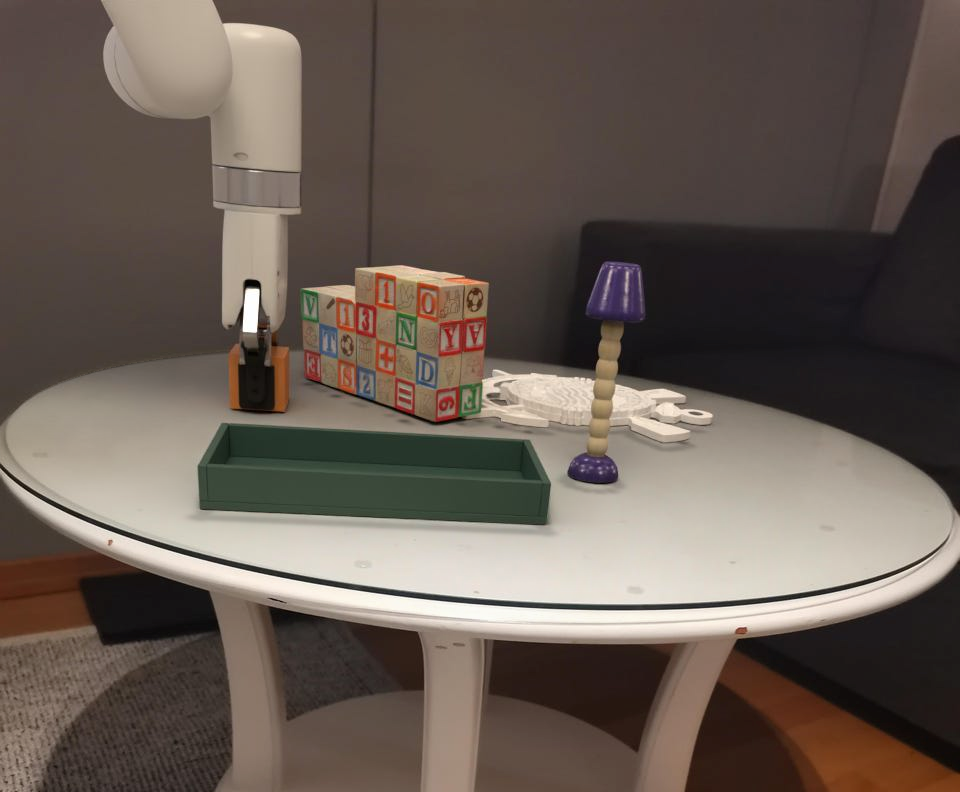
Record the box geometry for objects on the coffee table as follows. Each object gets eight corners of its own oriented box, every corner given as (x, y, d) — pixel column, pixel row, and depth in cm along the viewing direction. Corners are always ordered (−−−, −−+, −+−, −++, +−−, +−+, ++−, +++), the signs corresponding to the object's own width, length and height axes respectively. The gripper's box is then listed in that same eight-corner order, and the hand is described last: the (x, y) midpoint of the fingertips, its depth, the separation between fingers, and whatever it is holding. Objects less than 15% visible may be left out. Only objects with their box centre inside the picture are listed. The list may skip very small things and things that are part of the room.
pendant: (465, 372, 114) (466, 360, 113) (706, 399, 111) (709, 387, 110) (427, 414, 95) (428, 400, 94) (717, 449, 92) (720, 434, 91)
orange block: (230, 408, 90) (228, 353, 88) (237, 396, 95) (236, 343, 93) (284, 411, 91) (284, 357, 89) (289, 399, 95) (289, 347, 93)
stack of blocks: (302, 378, 104) (298, 256, 99) (349, 372, 108) (347, 254, 103) (436, 422, 91) (439, 283, 85) (483, 413, 95) (490, 279, 89)
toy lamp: (557, 466, 83) (582, 257, 75) (606, 465, 84) (636, 260, 77) (579, 484, 79) (608, 265, 71) (631, 483, 80) (664, 268, 73)
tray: (199, 509, 67) (197, 465, 65) (223, 461, 77) (221, 422, 75) (546, 524, 70) (551, 483, 68) (526, 476, 79) (530, 439, 78)
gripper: (227, 184, 92) (232, 379, 100) (196, 193, 77) (205, 421, 85) (307, 191, 93) (306, 384, 101) (293, 201, 78) (293, 427, 86)
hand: (260, 399), depth 93 cm, fingers closed on orange block, 5 cm apart
